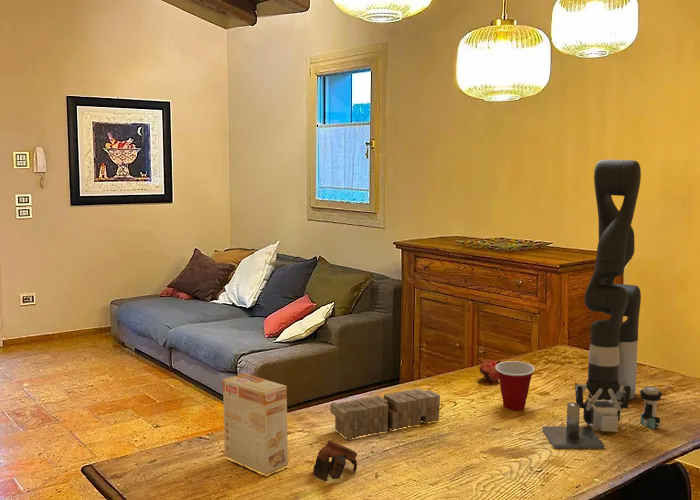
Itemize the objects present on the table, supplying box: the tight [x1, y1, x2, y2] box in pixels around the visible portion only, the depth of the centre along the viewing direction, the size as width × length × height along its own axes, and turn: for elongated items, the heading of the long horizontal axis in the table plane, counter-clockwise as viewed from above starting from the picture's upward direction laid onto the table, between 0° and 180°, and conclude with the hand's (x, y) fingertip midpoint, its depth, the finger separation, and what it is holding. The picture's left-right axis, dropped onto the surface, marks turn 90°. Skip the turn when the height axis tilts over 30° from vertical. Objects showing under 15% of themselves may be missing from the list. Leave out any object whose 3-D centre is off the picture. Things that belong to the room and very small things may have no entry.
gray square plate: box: [542, 401, 605, 450], centre depth 179 cm, size 12×12×9 cm
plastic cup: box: [495, 360, 536, 412], centre depth 202 cm, size 11×11×12 cm
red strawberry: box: [477, 359, 501, 383], centre depth 227 cm, size 7×7×10 cm
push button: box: [639, 386, 663, 430], centre depth 188 cm, size 7×5×10 cm
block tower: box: [329, 387, 441, 440], centre depth 189 cm, size 8×8×29 cm
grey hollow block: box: [587, 399, 619, 432], centre depth 186 cm, size 10×6×6 cm, turn 178°
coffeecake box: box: [222, 373, 289, 475], centre depth 165 cm, size 15×7×20 cm, turn 47°
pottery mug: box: [312, 440, 358, 482], centre depth 160 cm, size 12×9×8 cm
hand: (601, 422), depth 189 cm, fingers open, 6 cm apart
